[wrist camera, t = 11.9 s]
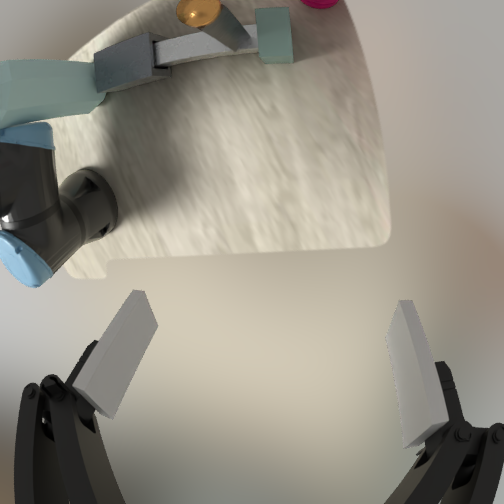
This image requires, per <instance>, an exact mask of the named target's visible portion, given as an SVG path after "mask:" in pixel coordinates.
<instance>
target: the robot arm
mask: <svg viewBox="0 0 504 504" xmlns="http://www.w3.org/2000/svg"><path fill="white" fill-rule="evenodd" d="M116 221H117V203H116V199H115V196H114V194H113V192H112V190H111V188H110V186H109V185H108V183H107V182H106V181H105V180H104V179H103V178H102V177H101V176H100V175H99V174H97V173H95V172H93V171H91V170H79V171H77V172H75V173H73V174H71V175H69V176H68V177H67V178H66V179H65V180H64V181H63V183H62V184H61V185H60V186H59V188H58V182H57V174H56V163H55V146H54V142H53V130H52V127H51V125H50V124H49V123H47V122H33V123H25V124H20V125H15V126H11V127H7V128H3V129H0V224H1V227H2V230H0V259H1V260H2V262H3V264H4V265H5V266H6V268H7V269H8V270H9V272H10V273H11V274H12V275H13V276H14V277H15V278H16V279H17V280H18V281H20V282H21V283H22V284H24V285H26V286H28V287H32V288H37V287H40V286H41V285H42V284H43V283H44V282H45V281H46V280H48V279H49V278H51V277H52V276H53V274H54V273H55V272H56V271H57V270H58V269H59V268H60V267H61V266H62V265H63V264H64V263H65V262H66V261H67V260H68V259H69V258H70V257H71V256H72V255H73V254H74V253H75V252H76V251H77V250H78V249H79V248H80V247H81V246H82V245H85V244H87V243H90V242H93V241H96V240H99V239H101V238H103V237H104V236H106V235H107V234H108V233H109V232H110V231H111V230H112V229H113V228H114V226H115V224H116ZM157 328H158V324H157V322H156V319H155V317H154V314H153V312H152V309H151V307H150V305H149V302H148V299H147V297H146V294H145V291H140V290H133V291H132V292H131V293H130V295H129V297H128V298H127V299H126V301H125V302H124V304H123V305H122V307H121V308H120V309H119V311H118V312H117V314H116V316H115V317H114V318H113V320H112V322H111V323H110V324H109V326H108V328H107V329H106V331H105V332H104V334H103V336H102V337H101V338H100V340H99V341H96V340H94V341H93V342H92V343H91V344H90V345H88V346H87V348H86V350H85V351H84V353H83V356H81V357H80V359H79V362H77V364H76V366H75V368H74V369H73V371H72V372H71V374H70V376H69V377H68V379H67V381H66V382H65V384H64V383H63V382H62V381H61V380H60V378H59V377H58V376H57V375H54V374H51V375H48V376H46V377H45V378H44V379H43V380H42V382H41V384H40V387H39V386H38V385H37V384H36V383H30V384H28V385H27V386H26V387H25V388H24V390H23V393H22V399H21V404H20V410H19V417H18V425H17V433H16V443H15V460H14V492H15V504H69V501H70V504H126V503H125V501H124V499H123V496H122V494H121V492H120V489H119V487H118V484H117V482H116V479H115V477H114V474H113V471H112V469H111V466H110V463H109V460H108V457H107V454H106V451H105V448H104V445H103V441H102V437H101V434H100V430H99V427H98V423H97V419H96V416H95V414H94V412H95V409H96V410H97V411H98V412H99V413H100V414H101V415H103V416H105V417H108V418H111V419H113V418H114V416H115V414H116V412H117V410H118V407H119V405H120V403H121V401H122V398H123V397H124V394H125V392H126V390H127V388H128V386H129V384H130V382H131V380H132V378H133V375H134V373H135V371H136V369H137V367H138V365H139V363H140V361H141V359H142V357H143V355H144V353H145V351H146V349H147V347H148V345H149V343H150V341H151V339H152V337H153V335H154V333H155V331H156V330H157ZM385 338H386V342H387V346H388V351H389V356H390V361H391V365H392V370H393V375H394V381H395V387H396V392H397V399H398V405H399V412H400V419H401V426H402V436H403V446H404V448H409V447H414V446H419V445H420V444H422V443H423V442H424V441H425V447H424V448H423V449H421V450H420V451H419V452H418V453H417V454H416V455H417V456H418V455H419V454H420V455H419V457H418V458H417V460H416V462H415V463H414V465H413V466H412V467H411V469H410V470H409V472H408V473H407V475H406V476H405V477H404V479H403V480H402V482H401V483H400V484H399V486H398V487H397V488H396V489H395V491H394V492H393V493H392V494H391V496H390V497H389V498H388V499H387V501H386V502H385V503H384V504H438V503H439V502H440V500H441V499H442V500H441V503H440V504H493V501H494V498H495V494H496V491H497V488H498V484H499V480H500V476H501V472H502V468H503V463H504V424H502V423H495V424H494V425H492V426H491V427H490V428H476V427H472V425H471V424H470V423H469V422H467V421H465V419H464V417H463V413H462V410H461V405H460V402H459V398H458V394H457V390H456V389H455V383H454V381H453V377H452V374H451V370H450V369H449V367H448V366H447V364H446V363H445V362H444V361H441V362H434V360H433V356H432V353H431V350H430V347H429V344H428V341H427V338H426V335H425V333H424V330H423V327H422V325H421V322H420V319H419V316H418V314H417V311H416V309H415V306H414V304H413V301H412V300H401V301H399V302H398V305H397V308H396V310H395V313H394V316H393V319H392V322H391V325H390V327H389V329H388V332H387V335H386V337H385ZM42 417H43V418H44V419H45V421H44V423H43V422H42ZM442 497H443V498H442Z"/></svg>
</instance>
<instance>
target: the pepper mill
mask: <svg viewBox="0 0 504 504" xmlns="http://www.w3.org/2000/svg"><path fill="white" fill-rule="evenodd" d="M301 1H302V2H303V3H304V4H306V5H308V6H310V7H313V8H318V9H325V8H329V7H332V6H333V5H335V4H336V3H337V1H338V0H301Z"/></svg>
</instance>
